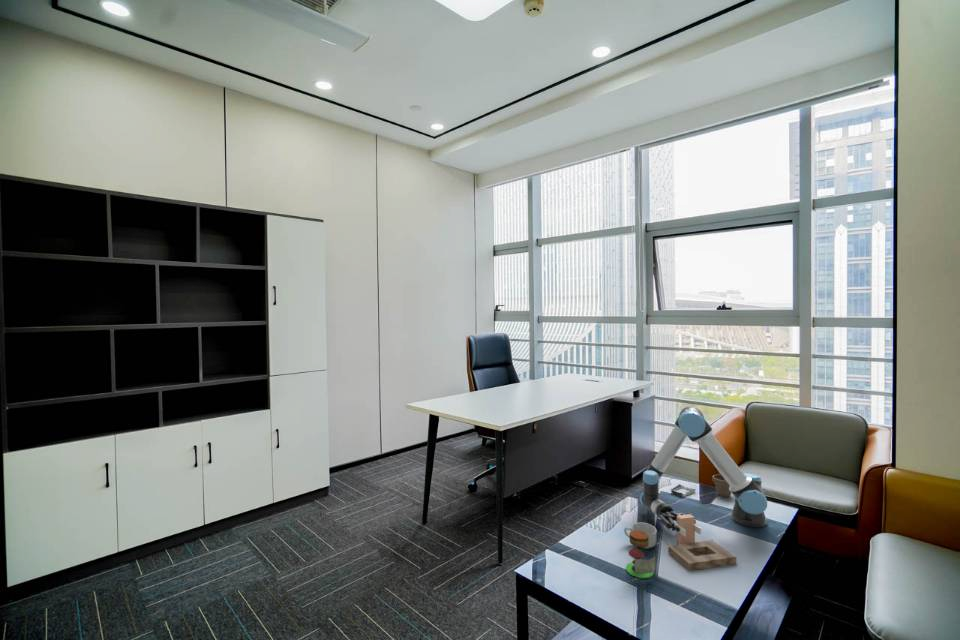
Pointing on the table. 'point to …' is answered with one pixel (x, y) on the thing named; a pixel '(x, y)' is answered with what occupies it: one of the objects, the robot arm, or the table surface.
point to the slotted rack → (692, 562)
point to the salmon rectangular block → (689, 526)
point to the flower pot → (721, 486)
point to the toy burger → (640, 556)
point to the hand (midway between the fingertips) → (692, 532)
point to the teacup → (647, 529)
